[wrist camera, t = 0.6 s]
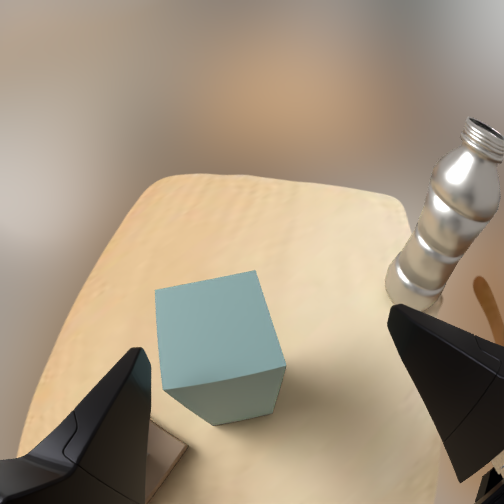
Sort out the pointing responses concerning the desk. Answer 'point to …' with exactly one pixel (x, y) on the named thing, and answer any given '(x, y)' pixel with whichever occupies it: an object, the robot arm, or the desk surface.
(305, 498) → the desk surface
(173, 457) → the base plate
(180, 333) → the pillar block
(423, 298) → the silver ribbed bottle
